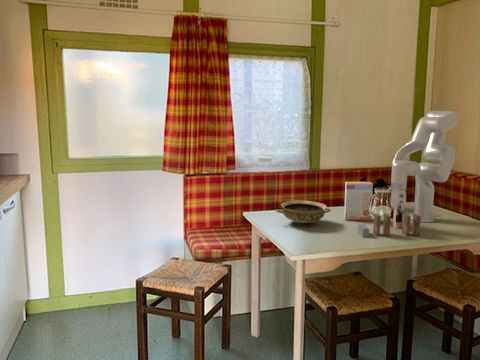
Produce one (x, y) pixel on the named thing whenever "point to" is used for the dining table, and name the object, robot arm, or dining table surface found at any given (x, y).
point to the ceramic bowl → (303, 211)
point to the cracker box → (357, 201)
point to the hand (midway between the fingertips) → (396, 220)
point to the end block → (363, 230)
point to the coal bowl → (379, 184)
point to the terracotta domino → (395, 219)
